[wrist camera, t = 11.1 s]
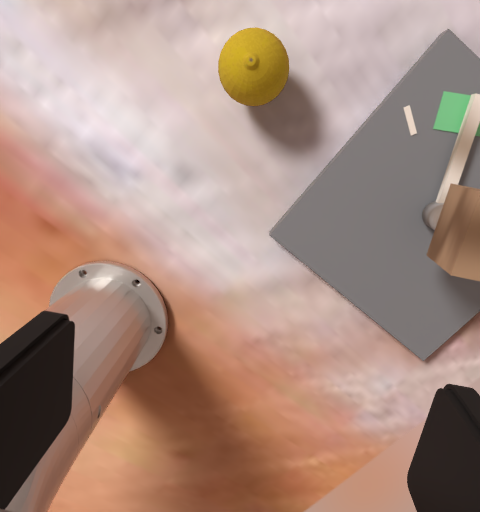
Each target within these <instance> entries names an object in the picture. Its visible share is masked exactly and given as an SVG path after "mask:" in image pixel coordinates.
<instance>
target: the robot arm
mask: <svg viewBox="0 0 480 512" xmlns="http://www.w3.org/2000/svg"><path fill="white" fill-rule="evenodd" d="M85 271H86V272H87V273H86V272H85ZM137 280H139V281H140V282H137ZM158 326H159V327H161V328H159V327H158ZM167 330H168V316H167V309H166V306H165V303H164V301H163V298H162V297H161V295H160V293H159V291H158V290H157V288H156V287H155V286H154V285H153V284H152V282H151V281H150V280H149V279H147V278H146V277H145V276H144V275H143V274H141V273H140V272H138V271H137V270H135V269H133V268H131V267H129V266H126V265H124V264H121V263H117V262H111V261H94V262H89V263H85V264H83V265H80V266H78V267H76V268H74V269H73V270H71V271H70V272H68V273H67V274H66V275H65V276H64V277H63V278H61V279H60V281H59V282H58V283H57V285H56V286H55V288H54V290H53V292H52V295H51V297H50V302H49V307H48V308H47V309H46V310H44V311H43V312H41V313H40V314H39V315H37V316H36V317H35V318H33V319H32V320H31V321H29V322H28V323H27V324H26V325H24V326H23V327H22V328H20V329H19V330H18V331H16V332H15V333H14V334H13V335H11V336H10V337H9V338H7V339H6V340H5V341H4V342H2V343H1V344H0V512H48V510H49V508H50V505H51V503H52V501H53V499H54V497H55V495H56V493H57V492H58V490H59V488H60V486H61V484H62V482H63V480H64V479H65V477H66V475H67V473H68V472H69V470H70V468H71V466H72V465H73V463H74V461H75V460H76V458H77V456H78V455H79V453H80V451H81V450H82V448H83V446H84V445H85V443H86V441H87V440H88V438H89V436H90V435H91V433H92V431H93V430H94V428H95V427H96V425H97V423H98V422H99V420H100V418H101V417H102V415H103V413H104V412H105V410H106V409H107V407H108V405H109V404H110V402H111V400H112V399H113V397H114V395H115V394H116V392H117V390H118V389H119V387H120V386H121V384H122V382H123V381H124V379H125V377H126V376H127V374H128V372H130V371H133V370H136V369H138V368H140V367H142V366H144V365H145V364H147V363H148V362H149V361H151V360H152V359H153V358H154V357H155V356H156V354H157V353H158V351H159V350H160V348H161V346H162V344H163V342H164V340H165V337H166V334H167ZM407 483H408V488H409V491H410V494H411V497H412V500H413V502H414V505H415V507H416V510H417V512H480V396H479V394H478V393H477V392H476V391H475V390H474V389H473V388H469V387H463V386H458V385H452V384H447V385H446V386H445V387H444V389H442V388H440V389H438V390H437V392H436V394H435V397H434V400H433V402H432V405H431V408H430V411H429V414H428V417H427V420H426V423H425V425H424V428H423V431H422V434H421V437H420V440H419V442H418V446H417V448H416V451H415V454H414V457H413V460H412V462H411V465H410V468H409V471H408V476H407Z"/></svg>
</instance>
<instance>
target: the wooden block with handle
mask: <svg viewBox="0 0 480 512" xmlns="http://www.w3.org/2000/svg"><path fill="white" fill-rule="evenodd" d="M479 122H480V94H471V97H470V100H469V103H468V106H467V109H466V112H465V115H464V118H463V121H462V124H461V127H460V130H459V133H458V136H457V139H456V142H455V145H454V148H453V151H452V154H451V157H450V160H449V163H448V166H447V169H446V172H445V175H444V178H443V181H442V184H441V187H440V190H439V193H438V196H437V199H436V201H434V202H431V203H429V204H428V205H426V207H425V208H424V209H423V212H422V220H423V222H424V223H425V224H426V225H427V226H429V227H430V228H432V229H433V230H435V231H434V234H433V237H432V240H431V243H430V246H429V249H428V252H427V256H428V257H429V258H430V259H431V260H433V261H434V262H435V263H436V264H438V265H439V266H440V267H441V268H442V269H444V270H445V271H446V272H447V273H449V274H450V275H451V276H456V277H461V278H466V279H471V280H476V281H480V189H477V188H472V187H467V186H462V185H458V183H459V180H460V177H461V174H462V171H463V169H464V166H465V163H466V160H467V157H468V154H469V151H470V148H471V145H472V143H473V140H474V137H475V134H476V131H477V128H478V125H479Z"/></svg>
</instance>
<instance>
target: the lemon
mask: <svg viewBox="0 0 480 512" xmlns="http://www.w3.org/2000/svg"><path fill="white" fill-rule="evenodd" d="M218 72H219V76H220V81H221V83H222V85H223V87H224V89H225V91H226V92H227V93H228V94H229V96H230V97H231V98H233V99H234V100H236V101H237V102H239V103H241V104H244V105H247V106H259V105H264V104H266V103H268V102H270V101H272V100H273V99H274V98H275V97H277V96H278V95H279V93H280V92H281V91H282V89H283V88H284V86H285V84H286V81H287V79H288V73H289V59H288V55H287V52H286V49H285V47H284V46H283V44H282V42H281V41H280V40H279V39H278V38H277V37H276V36H275V35H274V34H272V33H270V32H269V31H267V30H265V29H260V28H247V29H244V30H241V31H239V32H237V33H236V34H234V35H233V36H231V38H230V39H229V40H228V41H227V42H226V43H225V45H224V47H223V49H222V51H221V54H220V58H219V66H218Z"/></svg>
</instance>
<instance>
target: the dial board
mask: <svg viewBox="0 0 480 512" xmlns="http://www.w3.org/2000/svg"><path fill="white" fill-rule="evenodd" d="M471 94H480V58H479V57H478V56H477V55H475V54H474V53H473V52H472V51H471V50H470V49H469V48H468V47H467V46H466V45H465V44H464V43H463V42H462V41H461V40H460V39H459V38H458V37H457V36H456V35H455V34H454V33H453V32H452V31H451V30H449V29H448V30H446V31H444V32H443V33H441V34H440V35H439V37H438V38H437V39H436V40H435V41H434V42H433V44H432V45H431V46H430V47H429V48H428V49H427V50H426V52H425V53H424V54H423V55H422V56H421V57H420V59H419V60H418V61H417V62H416V63H415V64H414V65H413V67H412V68H411V69H410V70H409V71H408V72H407V74H406V75H405V76H404V77H403V78H402V79H401V80H400V82H399V83H398V84H397V85H396V86H395V87H394V89H393V90H392V91H391V92H390V93H389V94H388V95H387V97H386V98H385V99H384V100H383V101H382V102H381V104H380V105H379V106H378V107H377V108H376V109H375V110H374V112H373V113H372V114H371V115H370V116H369V117H368V119H367V120H366V121H365V122H364V123H363V124H362V126H361V127H360V128H359V129H358V130H357V131H356V132H355V134H354V135H353V136H352V137H351V138H350V139H349V141H348V142H347V143H346V144H345V145H344V146H343V147H342V149H341V150H340V151H339V152H338V153H337V154H336V156H335V157H334V158H333V159H332V160H331V161H330V162H329V164H328V165H327V166H326V167H325V168H324V169H323V171H322V172H321V173H320V174H319V175H318V176H317V177H316V179H315V180H314V181H313V182H312V183H311V184H310V186H309V187H308V188H307V189H306V190H305V191H304V193H303V194H302V195H301V196H300V197H299V198H298V199H297V201H296V202H295V203H294V204H293V205H292V206H291V208H290V209H289V210H288V211H287V212H286V213H285V214H284V216H283V217H282V218H281V219H280V220H279V221H278V223H277V224H276V225H275V226H274V227H273V228H272V229H271V231H270V236H271V237H272V238H273V239H275V240H276V241H277V242H278V243H280V244H281V245H282V246H283V247H284V248H286V249H287V250H288V251H289V252H291V253H292V254H293V255H294V256H296V257H297V258H298V259H299V260H300V261H302V262H303V263H304V264H305V265H307V266H308V267H309V268H310V269H311V270H313V271H314V272H315V273H316V274H318V275H319V276H320V277H321V278H322V279H324V280H325V281H326V282H327V283H329V284H330V285H331V286H332V287H333V288H335V289H336V290H337V291H338V292H340V293H341V294H342V295H343V296H344V297H346V298H347V299H348V300H349V301H351V302H352V303H353V304H354V305H355V306H357V307H358V308H359V309H360V310H362V311H363V312H364V313H365V314H367V315H368V316H369V317H370V318H371V319H373V320H374V321H375V322H376V323H378V324H379V325H380V326H381V327H382V328H384V329H385V330H386V331H387V332H389V333H390V334H391V335H392V336H393V337H395V338H396V339H397V340H398V341H400V342H401V343H402V344H403V345H404V346H406V347H407V348H408V349H409V350H411V351H412V352H413V353H414V354H415V355H417V356H418V357H419V358H420V359H422V360H423V361H424V360H425V359H426V358H427V357H429V356H430V355H431V354H432V353H433V352H434V351H435V350H436V349H438V348H439V347H440V346H441V345H442V344H443V343H444V342H445V341H447V340H448V339H449V338H450V337H451V336H452V335H453V334H455V333H456V332H457V331H458V330H459V329H460V328H461V327H462V326H464V325H465V324H466V323H467V322H468V321H469V320H470V319H471V318H473V317H474V316H475V315H476V314H477V313H478V312H479V311H480V281H476V280H471V279H466V278H461V277H456V276H451V275H450V274H449V273H447V272H446V271H445V270H444V269H442V268H441V267H440V266H439V265H438V264H436V263H435V262H434V261H433V260H431V259H430V258H429V257H428V256H427V252H428V249H429V246H430V243H431V240H432V237H433V234H434V231H435V230H433V229H432V228H430V227H429V226H427V225H426V224H425V223H424V222H423V220H422V212H423V209H424V208H425V207H426V205H428V204H429V203H431V202H434V201H436V199H437V196H438V193H439V190H440V187H441V184H442V181H443V178H444V175H445V172H446V169H447V166H448V163H449V160H450V157H451V154H452V151H453V148H454V145H455V142H456V139H457V136H458V133H459V130H460V127H461V124H462V121H463V118H464V115H465V112H466V109H467V106H468V103H469V100H470V97H471ZM458 185H462V186H467V187H472V188H477V189H480V122H479V125H478V128H477V131H476V134H475V137H474V140H473V143H472V145H471V148H470V151H469V154H468V157H467V160H466V163H465V166H464V169H463V171H462V174H461V177H460V180H459V183H458Z"/></svg>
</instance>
